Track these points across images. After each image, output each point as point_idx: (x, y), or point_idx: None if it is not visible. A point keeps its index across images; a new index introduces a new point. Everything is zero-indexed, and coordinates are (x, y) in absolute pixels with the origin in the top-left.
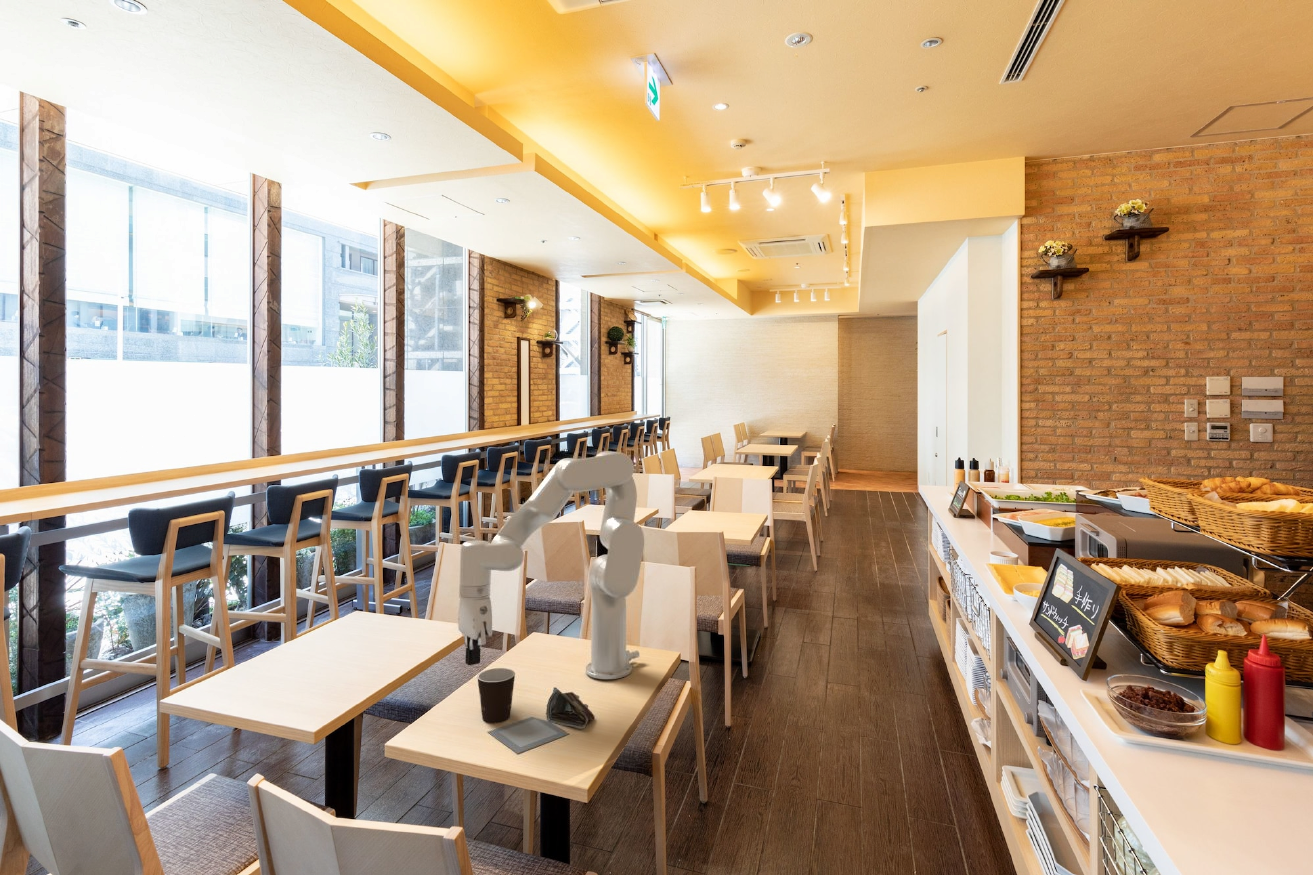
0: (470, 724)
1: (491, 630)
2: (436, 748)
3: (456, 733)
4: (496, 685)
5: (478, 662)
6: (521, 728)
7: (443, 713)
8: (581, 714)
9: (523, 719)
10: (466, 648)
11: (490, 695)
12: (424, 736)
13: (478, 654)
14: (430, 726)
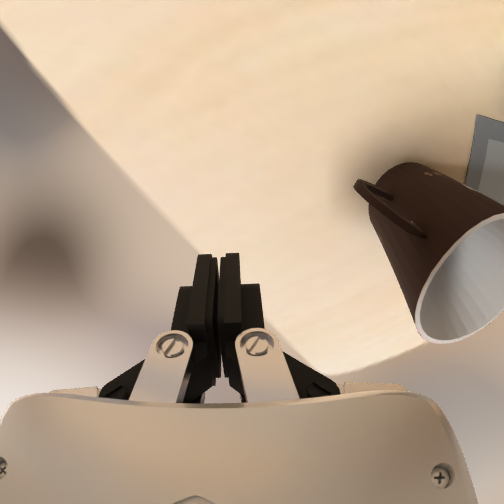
0: (383, 269)
1: (459, 449)
2: (403, 342)
3: (390, 305)
4: (500, 296)
5: (239, 261)
6: (492, 195)
7: (268, 296)
8: None
9: (471, 161)
10: (212, 385)
11: (467, 286)
12: (346, 349)
13: (261, 308)
14: (314, 333)
